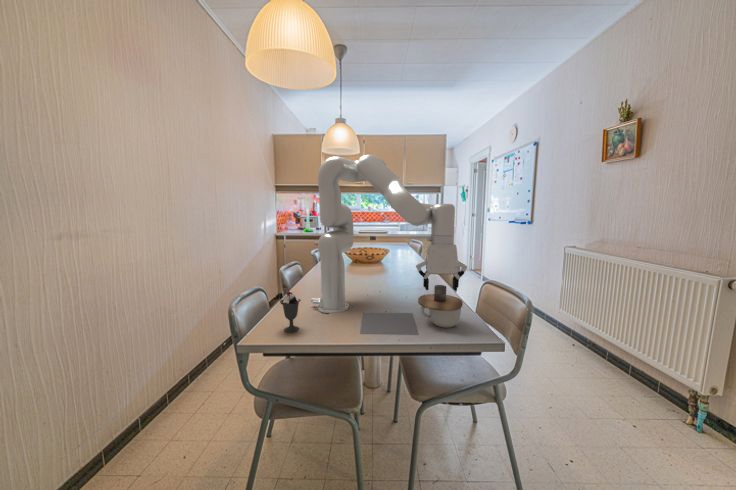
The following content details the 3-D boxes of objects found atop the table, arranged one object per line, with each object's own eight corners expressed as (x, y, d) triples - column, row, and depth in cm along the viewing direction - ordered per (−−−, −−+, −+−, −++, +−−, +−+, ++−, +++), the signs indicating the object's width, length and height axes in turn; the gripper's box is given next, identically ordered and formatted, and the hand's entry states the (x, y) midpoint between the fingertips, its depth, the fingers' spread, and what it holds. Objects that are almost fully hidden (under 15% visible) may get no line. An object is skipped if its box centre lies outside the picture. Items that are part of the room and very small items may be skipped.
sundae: (284, 325, 101) (283, 283, 99) (303, 325, 100) (302, 283, 98) (278, 333, 94) (276, 289, 92) (298, 333, 94) (297, 289, 92)
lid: (420, 310, 93) (421, 292, 92) (415, 296, 108) (416, 280, 107) (467, 311, 92) (468, 293, 91) (456, 296, 107) (457, 281, 106)
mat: (359, 335, 93) (359, 333, 93) (363, 313, 112) (363, 312, 112) (418, 336, 92) (419, 334, 92) (412, 314, 111) (412, 313, 111)
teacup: (457, 319, 106) (457, 298, 105) (463, 332, 95) (464, 309, 94) (418, 318, 107) (419, 297, 106) (421, 330, 97) (421, 307, 96)
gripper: (418, 241, 94) (417, 292, 96) (471, 241, 93) (469, 292, 96) (415, 239, 101) (414, 286, 104) (464, 239, 101) (462, 286, 103)
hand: (440, 289), depth 100 cm, fingers open, 9 cm apart
